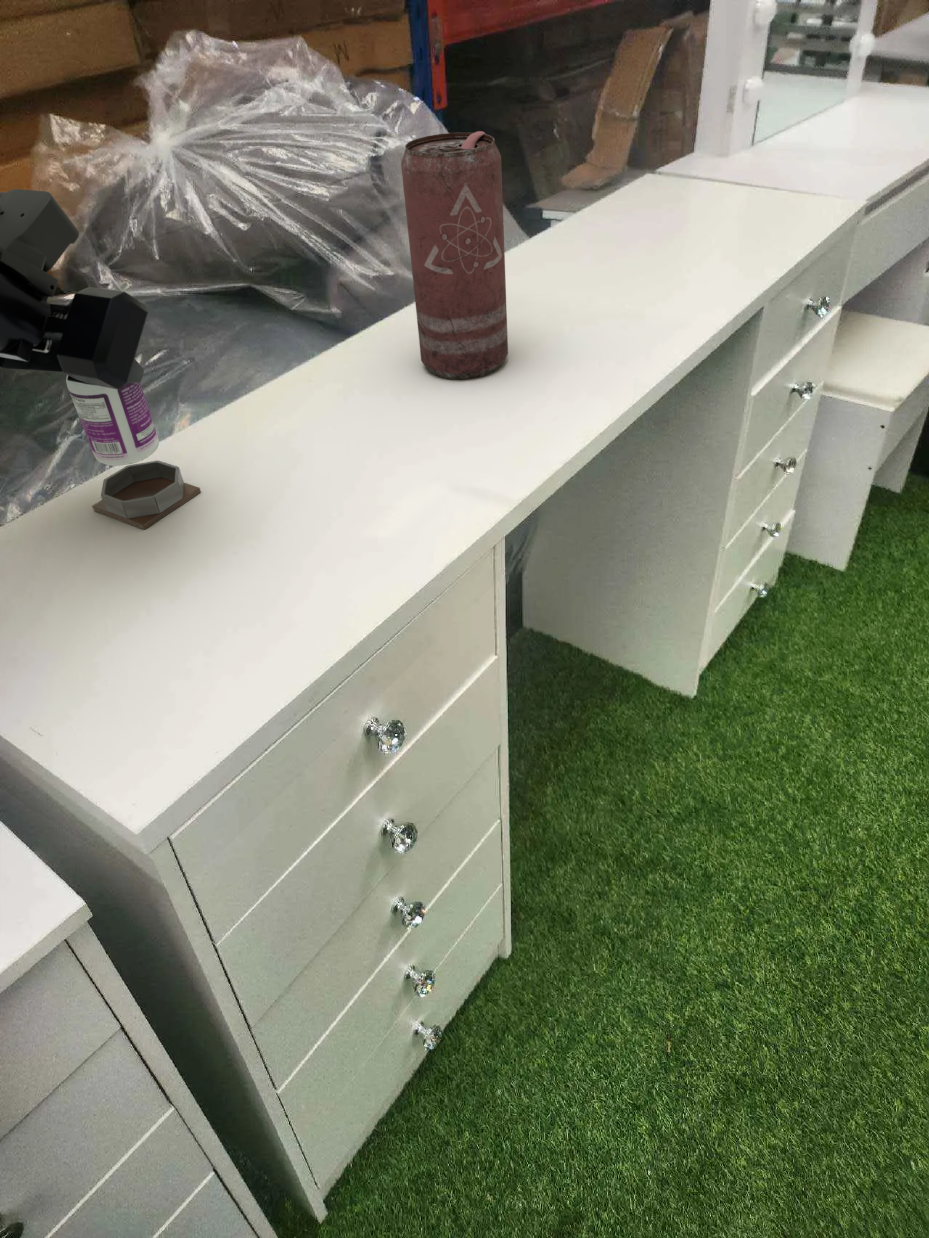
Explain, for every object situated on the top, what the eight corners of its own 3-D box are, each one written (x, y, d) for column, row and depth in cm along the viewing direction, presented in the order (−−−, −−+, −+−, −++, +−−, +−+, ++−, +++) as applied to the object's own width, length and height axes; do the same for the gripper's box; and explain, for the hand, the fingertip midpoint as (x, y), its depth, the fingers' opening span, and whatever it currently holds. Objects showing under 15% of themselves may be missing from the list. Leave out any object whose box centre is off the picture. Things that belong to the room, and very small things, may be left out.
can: (526, 352, 95) (521, 131, 81) (477, 388, 89) (463, 155, 75) (456, 338, 100) (440, 125, 86) (404, 371, 94) (378, 148, 80)
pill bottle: (145, 431, 76) (109, 322, 70) (170, 451, 73) (136, 339, 67) (85, 452, 74) (43, 341, 67) (108, 475, 70) (66, 360, 64)
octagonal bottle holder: (144, 530, 73) (136, 508, 72) (93, 510, 76) (85, 490, 75) (201, 492, 77) (195, 471, 76) (150, 475, 80) (143, 455, 79)
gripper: (78, 162, 52) (234, 287, 67) (-121, 151, 59) (60, 266, 74) (25, 339, 52) (194, 426, 66) (-168, 306, 59) (22, 391, 73)
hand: (114, 371), depth 70 cm, fingers closed on pill bottle, 5 cm apart
